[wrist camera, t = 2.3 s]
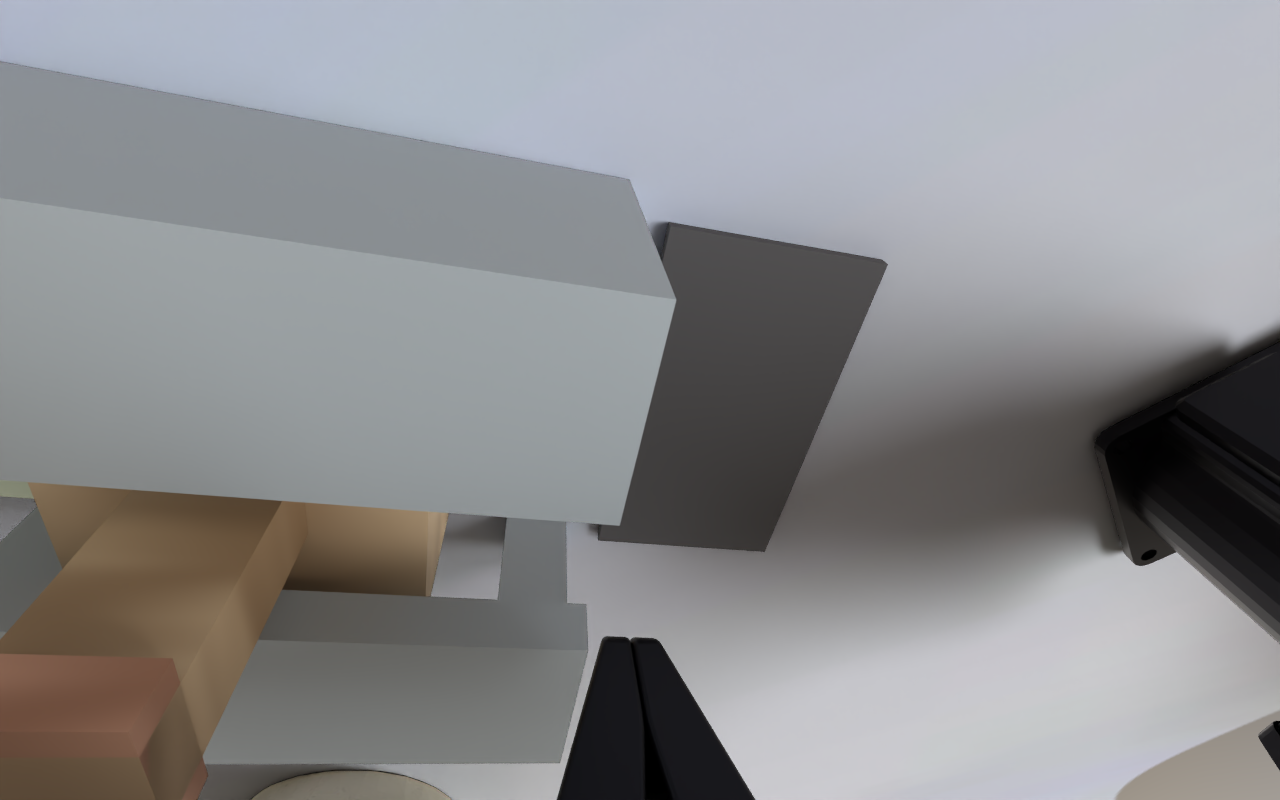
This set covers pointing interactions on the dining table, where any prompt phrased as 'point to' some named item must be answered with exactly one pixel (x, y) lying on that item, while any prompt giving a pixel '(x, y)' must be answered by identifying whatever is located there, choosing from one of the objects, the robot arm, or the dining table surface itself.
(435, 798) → the sugar bowl
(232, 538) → the tan t-shaped block
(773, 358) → the mat
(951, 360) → the dining table surface
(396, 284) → the tunnel
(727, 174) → the dining table surface
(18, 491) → the pad
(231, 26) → the dining table surface
